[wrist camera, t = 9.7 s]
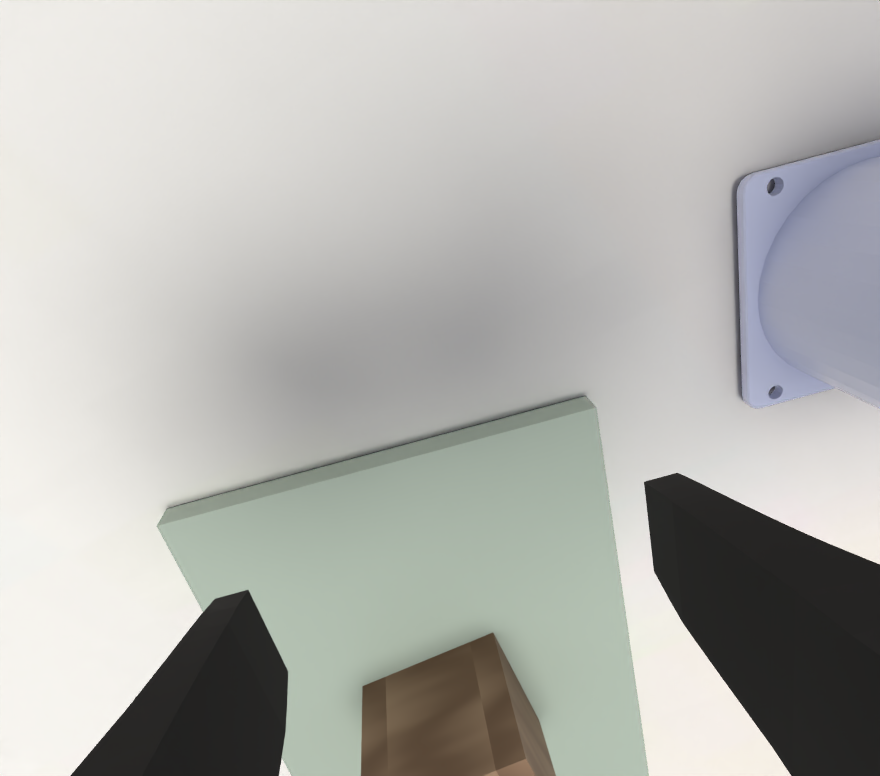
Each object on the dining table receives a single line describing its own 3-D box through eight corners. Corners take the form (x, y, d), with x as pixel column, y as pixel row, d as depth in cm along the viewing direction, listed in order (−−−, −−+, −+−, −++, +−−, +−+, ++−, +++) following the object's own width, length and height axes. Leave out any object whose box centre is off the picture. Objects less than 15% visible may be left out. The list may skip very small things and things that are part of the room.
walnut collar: (493, 632, 22) (525, 758, 17) (539, 720, 24) (579, 853, 19) (362, 686, 22) (359, 824, 17) (419, 768, 24) (430, 911, 20)
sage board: (585, 396, 19) (596, 407, 19) (640, 759, 27) (649, 780, 26) (167, 508, 19) (156, 525, 18) (341, 843, 27) (341, 867, 26)
